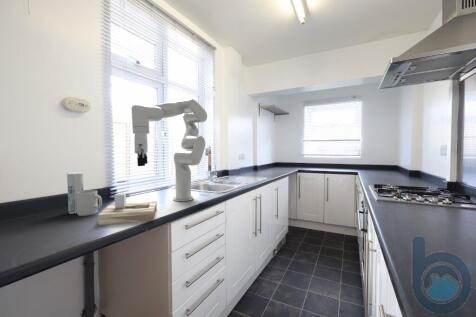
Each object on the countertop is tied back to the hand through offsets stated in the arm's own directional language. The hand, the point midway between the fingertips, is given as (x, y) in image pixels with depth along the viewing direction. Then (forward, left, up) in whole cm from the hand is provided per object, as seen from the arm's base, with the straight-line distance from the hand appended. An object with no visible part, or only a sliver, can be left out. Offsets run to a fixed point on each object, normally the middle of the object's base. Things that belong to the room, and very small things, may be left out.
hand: (142, 164), depth 108 cm
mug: (-6, -25, -25) cm, 36 cm away
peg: (+5, -9, -25) cm, 27 cm away
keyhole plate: (+5, -5, -24) cm, 25 cm away
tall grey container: (-11, -33, -25) cm, 43 cm away
